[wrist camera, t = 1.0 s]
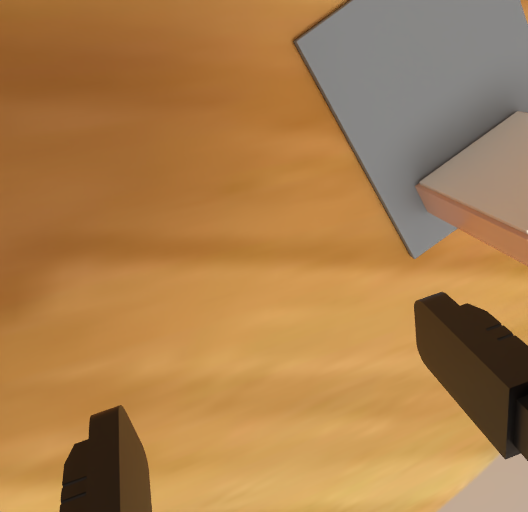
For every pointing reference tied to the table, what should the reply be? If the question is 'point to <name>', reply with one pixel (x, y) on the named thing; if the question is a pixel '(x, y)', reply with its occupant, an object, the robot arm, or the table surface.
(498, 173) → the tile
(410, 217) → the mat
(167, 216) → the table surface
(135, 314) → the table surface
